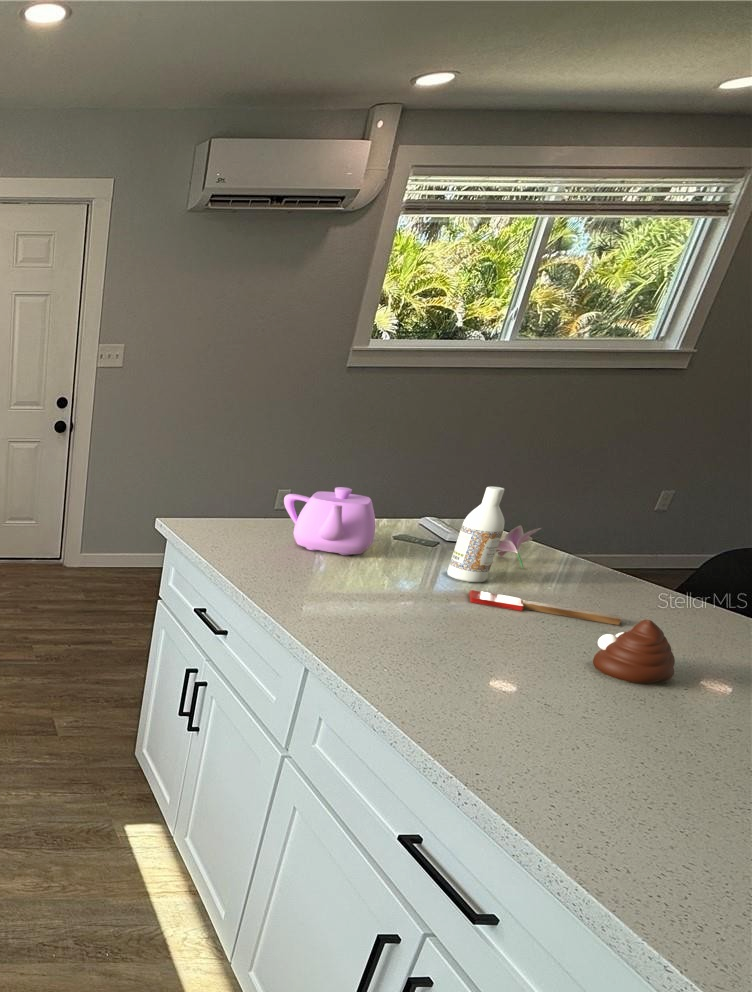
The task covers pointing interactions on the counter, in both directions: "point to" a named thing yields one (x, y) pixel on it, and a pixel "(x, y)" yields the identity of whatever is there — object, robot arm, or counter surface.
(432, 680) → the counter surface
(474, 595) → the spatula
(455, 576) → the bath foam
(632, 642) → the poop emoji
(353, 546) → the teapot
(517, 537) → the lily
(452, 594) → the counter surface
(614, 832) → the counter surface
